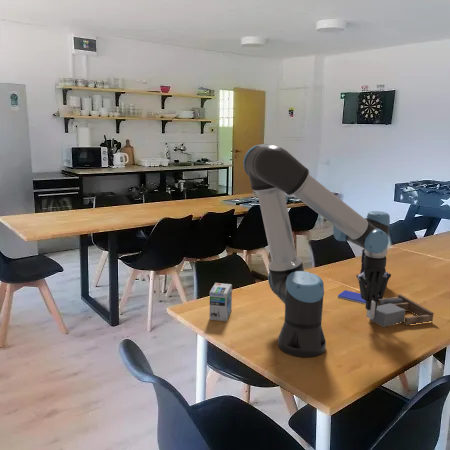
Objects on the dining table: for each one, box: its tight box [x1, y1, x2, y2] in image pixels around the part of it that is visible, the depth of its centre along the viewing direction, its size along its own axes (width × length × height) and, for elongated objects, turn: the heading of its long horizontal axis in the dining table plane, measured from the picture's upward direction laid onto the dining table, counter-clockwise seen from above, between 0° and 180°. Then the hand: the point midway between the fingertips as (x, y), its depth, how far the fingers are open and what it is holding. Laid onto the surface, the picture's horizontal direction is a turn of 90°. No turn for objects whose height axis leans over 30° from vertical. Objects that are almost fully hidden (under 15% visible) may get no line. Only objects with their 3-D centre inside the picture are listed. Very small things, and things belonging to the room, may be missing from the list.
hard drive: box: [337, 289, 366, 305], centre depth 190 cm, size 2×8×12 cm
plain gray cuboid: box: [369, 303, 406, 328], centre depth 167 cm, size 10×7×5 cm
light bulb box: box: [209, 282, 233, 322], centre depth 169 cm, size 11×7×11 cm, turn 170°
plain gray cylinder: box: [380, 298, 404, 305], centre depth 179 cm, size 8×4×4 cm, turn 105°
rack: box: [377, 293, 434, 326], centre depth 173 cm, size 11×19×4 cm, turn 15°
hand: (370, 317), depth 166 cm, fingers closed
